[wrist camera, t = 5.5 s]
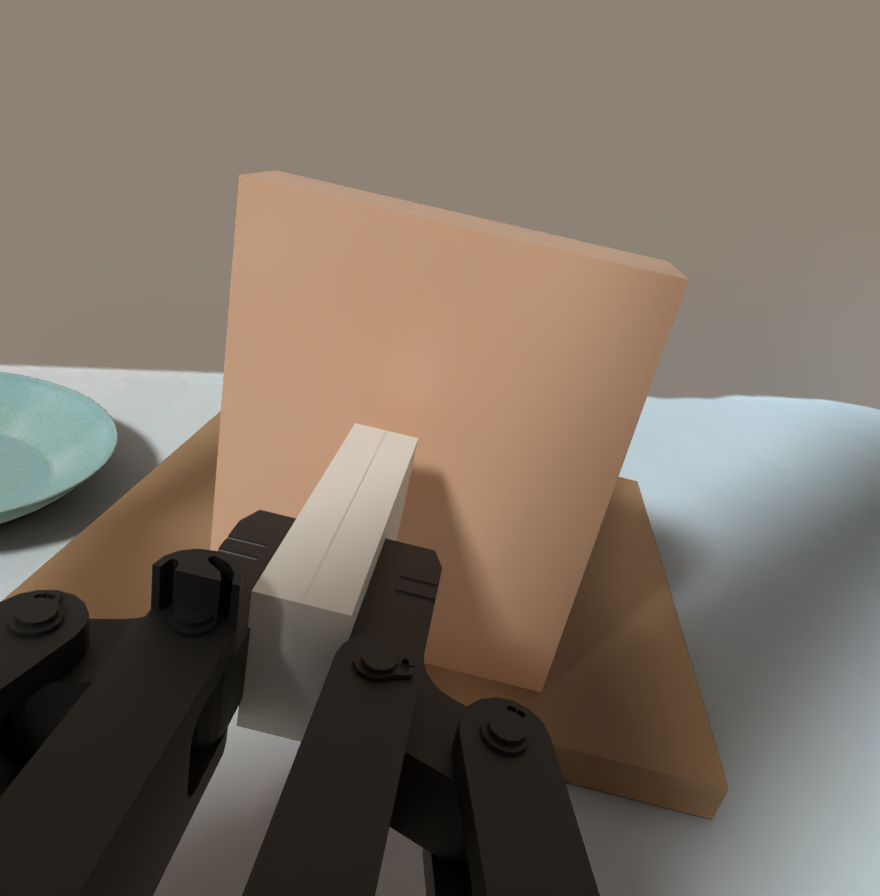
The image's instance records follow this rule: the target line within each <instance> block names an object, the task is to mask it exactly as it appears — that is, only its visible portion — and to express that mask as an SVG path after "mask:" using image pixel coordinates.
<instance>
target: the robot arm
mask: <svg viewBox="0 0 880 896" xmlns="http://www.w3.org/2000/svg"><path fill="white" fill-rule="evenodd" d="M417 442H418V438H415V437H411V436H407V435H403V434H399V433H395V432H390V431H386V430H382V429H378V428H374V427H370V426H365V425H361V424H357V423H355V424H354V426H353V428H352V429H351V431H350V433H349V434H348V436H347V437H346V439H345V441H344V442H343V444H342V445H341V447H340V449H339V450H338V452H337V454H336V455H335V457H334V458H333V460H332V462H331V463H330V465H329V467H328V468H327V470H326V471H325V473H324V475H323V476H322V478H321V480H320V481H319V483H318V484H317V486H316V488H315V489H314V491H313V492H312V494H311V496H310V497H309V499H308V501H307V502H306V504H305V505H304V507H303V509H302V510H301V512H300V514H299V515H298V517H297V518H292V517H288V516H284V515H280V514H276V513H271V512H267V511H263V510H258V511H256V512H255V513H253V514H251V515H249V516H247V517H245V518H243V519H241V520H240V521H239V522H238V523H237V524H236V526H235V527H234V528H233V530H232V531H231V532H230V534H229V535H228V538H227V539H225V540H224V542H223V543H222V544H221V545H220V547H219V549H218V551H213V550H205V549H188V550H179V551H176V552H173V553H171V554H168V555H165V556H163V557H162V558H160V559H159V560H158V561H156V562H155V563H154V564H152V588H151V610H150V611H149V612H148V613H147V615H146V616H144V617H139V618H128V619H89V612H88V610H87V607H86V604H85V602H83V601H82V600H81V599H79V598H78V597H77V596H75V595H74V594H70V593H66V592H63V591H59V590H35V591H30V592H25V593H20V594H17V595H15V596H13V597H10V598H8V599H6V600H3V601H1V602H0V896H153V894H154V892H155V890H156V888H157V886H158V884H159V882H160V880H161V878H162V876H163V874H164V872H165V870H166V868H167V866H168V864H169V862H170V860H171V858H172V856H173V854H174V852H175V850H176V848H177V846H178V844H179V842H180V840H181V837H182V835H183V833H184V831H185V829H186V827H187V825H188V823H189V821H190V819H191V817H192V815H193V813H194V811H195V809H196V807H197V805H198V803H199V801H200V799H201V797H202V795H203V793H204V791H205V789H206V787H207V785H208V783H209V781H210V779H211V777H212V775H213V773H214V771H215V769H216V767H217V765H218V763H219V761H220V759H221V757H222V755H223V752H224V748H225V744H226V739H227V729H228V725H229V723H230V721H231V719H232V717H233V715H234V713H235V711H236V709H237V707H238V705H239V710H238V720H237V726H241V727H245V728H249V729H253V730H257V731H260V732H264V733H268V734H272V735H276V736H280V737H284V738H288V739H292V740H296V741H300V742H301V744H300V747H299V749H298V752H297V754H296V757H295V760H294V762H293V765H292V767H291V770H290V773H289V775H288V778H287V780H286V783H285V786H284V788H283V791H282V793H281V796H280V799H279V801H278V804H277V806H276V809H275V812H274V814H273V817H272V819H271V822H270V825H269V827H268V830H267V832H266V835H265V838H264V840H263V843H262V845H261V848H260V851H259V853H258V856H257V858H256V861H255V864H254V866H253V869H252V871H251V874H250V876H249V879H248V882H247V884H246V887H245V889H244V892H243V895H242V896H375V892H376V888H377V883H378V878H379V873H380V869H381V864H382V859H383V854H384V850H385V845H386V840H387V835H388V831H389V826H390V827H391V828H393V829H394V830H396V831H398V832H399V833H401V834H402V835H404V836H405V837H407V838H409V839H410V840H412V841H413V842H415V843H416V844H418V845H420V846H421V847H423V863H424V874H425V884H426V895H427V896H600V895H599V892H598V888H597V885H596V882H595V879H594V875H593V872H592V869H591V866H590V862H589V859H588V856H587V853H586V850H585V846H584V843H583V840H582V837H581V833H580V830H579V827H578V824H577V821H576V817H575V814H574V811H573V808H572V804H571V801H570V798H569V795H568V791H567V788H566V785H565V782H564V779H563V775H562V772H561V769H560V766H559V762H558V759H557V756H556V753H555V750H554V746H553V743H552V740H551V737H550V735H549V733H548V731H547V729H546V727H545V725H544V723H543V721H541V720H540V719H539V718H538V717H537V716H536V715H535V714H534V713H533V712H532V711H531V710H530V709H528V708H526V707H524V706H523V705H521V704H519V703H517V702H515V701H512V700H507V699H503V698H498V697H493V698H483V699H479V700H477V701H475V702H474V703H472V704H470V705H468V706H465V705H463V704H462V703H460V702H458V701H456V700H454V699H453V698H451V697H450V696H448V695H447V694H445V693H444V692H442V691H441V690H440V689H439V688H438V687H437V686H436V685H435V684H434V683H433V682H432V680H431V679H430V677H429V675H428V674H427V671H426V668H425V665H424V653H425V649H426V644H427V639H428V634H429V629H430V625H431V620H432V615H433V610H434V605H435V600H436V596H437V591H438V586H439V581H440V577H441V572H442V566H441V564H440V561H439V559H438V556H437V554H436V552H435V550H431V549H427V548H423V547H419V546H415V545H411V544H406V543H402V542H398V541H396V540H397V537H398V532H399V527H400V523H401V518H402V513H403V508H404V504H405V499H406V494H407V490H408V485H409V480H410V475H411V471H412V466H413V461H414V456H415V452H416V447H417Z"/></svg>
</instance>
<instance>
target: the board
mask: <svg viewBox="0 0 880 896" xmlns="http://www.w3.org/2000/svg"><path fill="white" fill-rule="evenodd" d="M220 418H221V411H220V412H219V413H218V414H217V415H216V416H215V417H213V418H212V419H211V420H210V421H209V422H208V423H206V424H205V425H204V426H203V427H202V428H201V429H200V430H198V431H197V432H196V433H195V434H194V435H193V436H191V437H190V438H189V439H188V440H187V441H186V442H185V443H183V444H182V445H181V446H180V447H179V448H178V449H176V450H175V451H174V452H173V453H172V454H171V455H170V456H168V457H167V458H166V459H165V460H164V461H163V462H162V463H160V464H159V465H158V466H157V467H156V468H155V469H153V470H152V471H151V472H150V473H149V474H148V475H147V476H145V477H144V478H143V479H142V480H141V481H140V482H138V483H137V484H136V485H135V486H134V487H133V488H132V489H130V490H129V491H128V492H127V493H126V494H125V495H123V496H122V497H121V498H120V499H119V500H118V501H117V502H115V503H114V504H113V505H112V506H111V507H110V508H109V509H107V510H106V511H105V512H104V513H103V514H102V515H100V516H99V517H98V518H97V519H96V520H95V521H94V522H92V523H91V524H90V525H89V526H88V527H87V528H85V529H84V530H83V531H82V532H81V533H80V534H79V535H77V536H76V537H75V538H74V539H73V540H72V541H70V542H69V543H68V544H67V545H66V546H65V547H64V548H62V549H61V550H60V551H59V552H58V553H57V554H55V555H54V556H53V557H52V558H51V559H50V560H49V561H47V562H46V563H45V564H44V565H43V566H42V567H41V568H39V569H38V570H37V571H36V572H35V573H34V574H32V575H31V576H30V577H29V578H28V579H27V580H26V581H24V582H23V583H22V584H21V585H20V586H19V587H17V588H16V589H15V590H14V591H13V592H12V593H11V594H9V595H8V596H7V597H6V598H5V599H4V600H6V599H8V598H10V597H13V596H15V595H17V594H20V593H25V592H30V591H35V590H59V591H63V592H66V593H70V594H74V595H75V596H77V597H78V598H79V599H81V600H82V601H83V602H85V604H86V607H87V610H88V612H89V619H128V618H139V617H144V616H146V615H147V613H148V612H149V611H150V610H151V588H152V564H154V563H155V562H156V561H158V560H159V559H160V558H162V557H163V556H165V555H168V554H171V553H173V552H176V551H179V550H188V549H205V550H210V547H211V534H212V521H213V508H214V495H215V482H216V469H217V456H218V443H219V430H220ZM2 601H3V600H2ZM424 665H425V668H426V671H427V674H428V675H429V677H430V679H431V680H432V682H433V683H434V684H435V685H436V686H437V687H438V688H439V689H440V690H441V691H442V692H444V693H445V694H447V695H448V696H450V697H451V698H453V699H454V700H456V701H458V702H460V703H462V704H463V705H465V706H468V705H470V704H472V703H474V702H475V701H477V700H479V699H483V698H493V697H498V698H503V699H507V700H512V701H515V702H517V703H519V704H521V705H523V706H524V707H526V708H528V709H530V710H531V711H532V712H533V713H534V714H535V715H536V716H537V717H538V718H539V719H540V720H541V721H543V723H544V725H545V727H546V729H547V731H548V733H549V735H550V737H551V740H552V743H553V746H554V750H555V753H556V756H557V759H558V762H559V766H560V769H561V772H562V775H563V779H564V782H567V783H571V784H575V785H579V786H583V787H587V788H591V789H595V790H598V791H602V792H606V793H610V794H614V795H618V796H622V797H626V798H630V799H634V800H638V801H642V802H645V803H649V804H653V805H657V806H661V807H665V808H669V809H673V810H677V811H681V812H685V813H689V814H693V815H696V816H700V817H704V818H708V819H712V818H713V816H714V814H715V813H716V811H717V809H718V807H719V805H720V804H721V802H722V800H723V798H724V796H725V794H726V793H727V791H728V786H727V782H726V779H725V776H724V772H723V769H722V765H721V762H720V759H719V755H718V752H717V749H716V745H715V742H714V738H713V735H712V732H711V728H710V725H709V722H708V718H707V715H706V711H705V708H704V705H703V701H702V698H701V695H700V691H699V688H698V684H697V681H696V678H695V674H694V671H693V668H692V664H691V661H690V657H689V654H688V651H687V647H686V644H685V641H684V637H683V634H682V630H681V627H680V624H679V620H678V617H677V614H676V610H675V607H674V603H673V600H672V597H671V593H670V590H669V587H668V583H667V580H666V576H665V573H664V570H663V566H662V563H661V560H660V556H659V553H658V549H657V546H656V543H655V539H654V536H653V533H652V529H651V526H650V522H649V519H648V516H647V512H646V509H645V506H644V502H643V499H642V495H641V492H640V489H639V485H638V482H637V481H633V480H629V479H625V478H621V477H618V479H617V482H616V485H615V487H614V490H613V493H612V496H611V499H610V501H609V504H608V507H607V510H606V513H605V515H604V518H603V521H602V524H601V527H600V529H599V532H598V535H597V538H596V541H595V543H594V546H593V549H592V552H591V555H590V557H589V560H588V563H587V566H586V569H585V571H584V574H583V577H582V580H581V583H580V585H579V588H578V591H577V594H576V597H575V599H574V602H573V605H572V608H571V611H570V613H569V616H568V619H567V622H566V625H565V627H564V630H563V633H562V636H561V639H560V641H559V644H558V647H557V650H556V653H555V655H554V658H553V661H552V664H551V667H550V669H549V672H548V675H547V678H546V681H545V683H544V686H543V689H542V692H538V691H534V690H530V689H526V688H522V687H518V686H514V685H510V684H506V683H502V682H498V681H494V680H490V679H486V678H482V677H478V676H474V675H470V674H466V673H462V672H458V671H454V670H450V669H446V668H442V667H438V666H434V665H430V664H426V663H424Z"/></svg>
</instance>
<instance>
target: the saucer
mask: <svg viewBox="0 0 880 896" xmlns="http://www.w3.org/2000/svg"><path fill="white" fill-rule="evenodd" d="M117 441H118V431H117V427H116V424H115V422H114V420H113V419H112V417H111V416H110V415H109V414H108V413H107V411H106V410H105V409H103V407H101V406H100V405H99V404H98V403H96V402H94V401H93V400H92V399H91V398H89V397H87V396H85V395H83V394H81V393H79V392H77V391H75V390H72V389H69V388H66V387H64V386H61V385H58V384H55V383H52V382H48V381H45V380H40V379H37V378H33V377H29V376H23V375H18V374H12V373H5V372H0V524H2V523H5V522H8V521H10V520H13V519H16V518H19V517H21V516H24V515H26V514H29V513H31V512H34V511H36V510H38V509H40V508H42V507H44V506H46V505H48V504H50V503H52V502H54V501H56V500H57V499H59V498H61V497H62V496H64V495H66V494H67V493H69V492H70V491H72V490H73V489H75V488H76V487H78V486H79V485H80V484H82V483H83V482H85V481H86V480H87V479H88V478H90V477H91V476H92V475H94V474H95V473H96V472H97V471H98V470H99V469H101V468H102V467H103V466H104V465H105V464H106V463H107V462H108V460H109V459H110V458H111V456H112V454H113V453H114V451H115V448H116V445H117Z"/></svg>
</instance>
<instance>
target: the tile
mask: <svg viewBox="0 0 880 896" xmlns="http://www.w3.org/2000/svg"><path fill="white" fill-rule="evenodd" d="M687 283H688V279H687V278H686V277H685V276H684V275H683V274H682V273H681V272H679V270H677V269H676V268H675V267H674V266H673V265H672V264H671V263H670V262H668V261H664V260H659V259H655V258H650V257H646V256H642V255H638V254H633V253H629V252H625V251H621V250H616V249H612V248H607V247H603V246H599V245H595V244H590V243H586V242H582V241H578V240H573V239H569V238H564V237H560V236H556V235H552V234H547V233H543V232H539V231H534V230H530V229H526V228H522V227H517V226H513V225H509V224H504V223H500V222H496V221H491V220H487V219H483V218H479V217H474V216H470V215H466V214H461V213H457V212H453V211H448V210H444V209H440V208H436V207H431V206H427V205H422V204H418V203H414V202H410V201H405V200H401V199H397V198H393V197H388V196H384V195H380V194H375V193H371V192H367V191H362V190H358V189H354V188H350V187H345V186H340V185H337V184H332V183H328V182H324V181H319V180H315V179H310V178H306V177H302V176H298V175H294V174H289V173H285V172H281V171H268V172H260V173H252V174H245V175H240V176H239V186H238V199H237V212H236V224H235V238H234V250H233V263H232V276H231V289H230V302H229V315H228V327H227V328H228V329H227V342H226V354H225V367H224V379H223V392H222V405H221V418H220V430H219V443H218V456H217V469H216V482H215V495H214V508H213V521H212V534H211V547H210V550H213V551H218V549H219V547H220V545H221V544H222V543H223V542H224V540H225V539H227V538H228V535H229V534H230V532H231V531H232V530H233V528H234V527H235V526H236V524H237V523H238V522H239V521H240V520H241V519H243V518H245V517H247V516H249V515H251V514H253V513H255V512H256V511H258V510H263V511H267V512H271V513H276V514H280V515H284V516H288V517H292V518H297V517H298V515H299V514H300V512H301V510H302V509H303V507H304V505H305V504H306V502H307V501H308V499H309V497H310V496H311V494H312V492H313V491H314V489H315V488H316V486H317V484H318V483H319V481H320V480H321V478H322V476H323V475H324V473H325V471H326V470H327V468H328V467H329V465H330V463H331V462H332V460H333V458H334V457H335V455H336V454H337V452H338V450H339V449H340V447H341V445H342V444H343V442H344V441H345V439H346V437H347V436H348V434H349V433H350V431H351V429H352V428H353V426H354V424H355V423H357V424H361V425H365V426H370V427H374V428H378V429H382V430H386V431H390V432H395V433H399V434H403V435H407V436H411V437H415V438H418V442H417V447H416V452H415V456H414V461H413V466H412V471H411V475H410V480H409V485H408V490H407V494H406V499H405V504H404V508H403V513H402V518H401V523H400V527H399V532H398V537H397V540H396V541H398V542H402V543H406V544H411V545H415V546H419V547H423V548H427V549H431V550H435V552H436V554H437V556H438V559H439V561H440V564H441V566H442V572H441V577H440V581H439V586H438V591H437V596H436V600H435V605H434V610H433V615H432V620H431V625H430V629H429V634H428V639H427V644H426V649H425V653H424V663H426V664H430V665H434V666H438V667H442V668H446V669H450V670H454V671H458V672H462V673H466V674H470V675H474V676H478V677H482V678H486V679H490V680H494V681H498V682H502V683H506V684H510V685H514V686H518V687H522V688H526V689H530V690H534V691H538V692H542V689H543V686H544V683H545V681H546V678H547V675H548V672H549V669H550V667H551V664H552V661H553V658H554V655H555V653H556V650H557V647H558V644H559V641H560V639H561V636H562V633H563V630H564V627H565V625H566V622H567V619H568V616H569V613H570V611H571V608H572V605H573V602H574V599H575V597H576V594H577V591H578V588H579V585H580V583H581V580H582V577H583V574H584V571H585V569H586V566H587V563H588V560H589V557H590V555H591V552H592V549H593V546H594V543H595V541H596V538H597V535H598V532H599V529H600V527H601V524H602V521H603V518H604V515H605V513H606V510H607V507H608V504H609V501H610V499H611V496H612V493H613V490H614V487H615V485H616V482H617V479H618V476H619V473H620V471H621V468H622V465H623V462H624V459H625V457H626V454H627V451H628V448H629V445H630V443H631V440H632V437H633V434H634V431H635V429H636V426H637V423H638V420H639V417H640V415H641V412H642V409H643V406H644V403H645V401H646V398H647V395H648V392H649V389H650V387H651V384H652V381H653V378H654V375H655V372H656V369H657V367H658V364H659V361H660V358H661V356H662V353H663V350H664V347H665V344H666V342H667V339H668V336H669V333H670V330H671V328H672V325H673V322H674V319H675V316H676V314H677V311H678V308H679V305H680V302H681V299H682V297H683V294H684V291H685V288H686V285H687Z"/></svg>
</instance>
